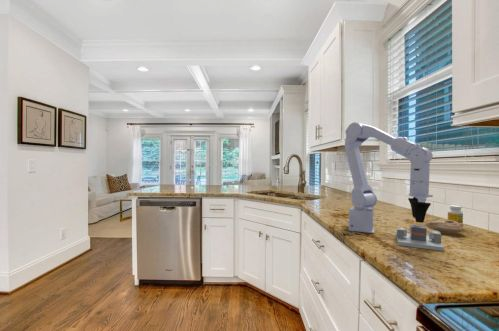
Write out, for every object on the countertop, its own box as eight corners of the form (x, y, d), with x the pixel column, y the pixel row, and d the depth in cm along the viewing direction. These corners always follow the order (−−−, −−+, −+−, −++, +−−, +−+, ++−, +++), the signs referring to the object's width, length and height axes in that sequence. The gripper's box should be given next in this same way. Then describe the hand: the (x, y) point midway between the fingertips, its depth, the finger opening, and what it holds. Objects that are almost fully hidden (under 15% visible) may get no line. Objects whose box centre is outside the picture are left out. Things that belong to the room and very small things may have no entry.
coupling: (410, 239, 96) (411, 226, 96) (409, 236, 100) (409, 224, 100) (426, 241, 94) (426, 228, 94) (424, 238, 98) (424, 225, 98)
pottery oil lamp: (422, 227, 117) (429, 213, 118) (455, 241, 112) (461, 226, 113) (427, 225, 110) (433, 209, 111) (462, 239, 104) (469, 222, 105)
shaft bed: (398, 245, 94) (398, 232, 94) (395, 235, 106) (395, 223, 106) (444, 251, 88) (444, 237, 88) (435, 239, 101) (435, 227, 101)
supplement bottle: (450, 225, 124) (451, 204, 123) (464, 228, 119) (465, 206, 119) (445, 227, 121) (445, 205, 120) (459, 230, 116) (460, 207, 116)
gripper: (437, 183, 89) (435, 225, 89) (429, 180, 102) (427, 217, 102) (411, 182, 92) (410, 223, 92) (407, 179, 105) (405, 215, 105)
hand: (417, 219), depth 97 cm, fingers open, 7 cm apart
